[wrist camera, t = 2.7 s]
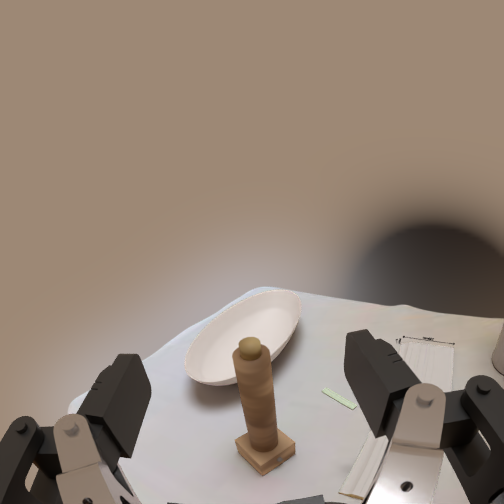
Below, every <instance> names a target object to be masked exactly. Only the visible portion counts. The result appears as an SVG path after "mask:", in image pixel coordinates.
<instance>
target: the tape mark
mask: <svg viewBox="0 0 504 504" xmlns="http://www.w3.org/2000/svg"><path fill="white" fill-rule="evenodd" d="M322 392H323V393H325V394H326V395H328V396H330V397H331V398H333V399H335V400H336V401H338V402H340V403H341V404H343V405H345V406H347V407H348V408H350V409H352V410H353V409H354V408H355V407H356V406H357V405H356V404H354V403H352V402H350V401H349V400H347V399H345V398H343V397H342V396H340V395H338V394H336V393H335V392H333V391H331V390H330V389H328V388H325V389H324V390H323V391H322Z"/></svg>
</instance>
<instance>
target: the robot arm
mask: <svg viewBox="0 0 504 504" xmlns="http://www.w3.org/2000/svg"><path fill="white" fill-rule="evenodd" d="M492 362H493V364H494V366H495V368H496V369H497V370H498V371H499V372H500V373H502V374H503V375H504V324H503V327H502V330H501V333H500V336H499V339H498V342H497V344H496V347H495V350H494V352H493V355H492ZM344 372H345V376H346V379H347V381H348V383H349V385H350V387H351V389H352V391H353V393H354V395H355V397H356V399H357V401H358V403H359V405H360V407H361V410H362V412H363V414H364V416H365V418H366V420H367V422H368V424H369V426H370V428H371V430H372V432H373V434H374V436H375V439H376V438H379V437H382V436H385V435H386V437H387V439H388V443H387V446H386V448H385V451H384V454H383V456H382V459H381V461H380V464H379V466H378V469H377V471H376V473H375V476H374V478H373V480H372V482H371V485H370V487H369V489H368V491H367V493H366V495H365V496H364V498H363V500H362V502H361V504H432V500H433V497H434V493H435V490H436V486H437V482H438V478H439V474H440V470H441V465H442V460H443V454H444V452H445V454H446V456H447V458H448V460H449V462H450V463H451V465H452V467H453V469H454V471H455V473H456V475H457V477H458V479H459V481H460V483H461V485H462V487H463V489H464V491H465V493H466V495H467V498H468V500H469V502H470V504H504V390H503V389H502V387H501V386H500V385H499V384H498V383H497V382H496V381H495V380H494V379H492V378H491V377H488V376H484V375H478V376H475V377H472V378H471V379H470V380H469V381H468V382H467V384H466V386H465V389H464V390H458V391H452V392H443V390H442V389H440V388H439V387H438V386H436V385H433V384H429V383H422V382H421V381H420V380H419V379H418V377H417V376H416V375H415V374H414V372H413V371H412V370H411V369H410V367H409V366H408V365H407V364H406V362H405V361H403V359H402V357H401V356H400V355H399V354H397V351H396V350H395V349H394V348H393V347H392V345H391V344H389V343H387V342H385V341H384V340H382V339H377V340H375V339H374V337H373V336H372V335H371V334H370V332H369V331H368V330H367V329H364V330H360V331H355V332H350V333H347V336H346V346H345V358H344ZM150 398H151V385H150V382H149V379H148V377H147V374H146V372H145V369H144V366H143V364H142V361H141V359H140V357H139V355H138V354H119V355H118V356H117V358H116V359H115V361H114V363H113V364H112V366H108V367H107V368H106V369H105V370H103V371H102V372H101V373H100V374H99V376H98V378H97V379H96V381H95V383H94V384H93V386H92V388H91V390H90V391H89V393H88V394H87V396H86V398H85V399H84V401H83V403H82V405H81V406H80V408H79V410H78V412H77V413H76V414H69V415H66V416H63V417H62V418H60V419H59V420H58V421H57V422H56V424H55V426H53V427H39V425H38V424H37V423H36V421H35V420H34V419H33V418H32V417H29V416H22V417H20V418H17V419H16V420H15V421H13V423H12V424H11V425H10V427H9V429H8V430H7V432H6V433H5V435H4V437H3V438H2V440H1V442H0V504H142V503H141V502H140V501H139V499H138V497H137V496H136V494H135V492H134V491H133V489H132V487H131V485H130V483H129V482H128V480H127V478H126V476H125V474H124V472H123V470H122V468H121V466H120V465H119V464H118V460H119V457H124V458H131V457H132V454H133V450H134V447H135V444H136V441H137V438H138V434H139V431H140V428H141V425H142V422H143V419H144V416H145V413H146V410H147V407H148V404H149V401H150ZM479 430H480V432H481V433H482V435H483V436H484V438H485V439H486V441H487V442H488V444H489V445H490V449H491V451H490V449H489V448H488V446H487V445H486V443H485V442H484V440H483V439H482V437H481V436H480V434H479V433H478V431H479ZM32 463H34V464H35V466H37V468H38V469H39V470H38V472H37V475H36V477H35V480H34V482H33V485H32V487H31V490H30V492H28V491H27V489H26V487H25V479H26V476H27V474H28V471H29V469H30V467H31V465H32ZM167 504H177V503H168V502H167ZM277 504H345V503H337V502H324V498H323V495H318V496H313V497H308V498H302V499H296V500H289V501H283V502H280V503H277Z"/></svg>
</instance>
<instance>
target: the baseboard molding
mask: <svg viewBox="0 0 504 504" xmlns="http://www.w3.org/2000/svg"><path fill="white" fill-rule="evenodd" d="M404 337H405V336H403V338H404ZM407 338H409V337H407ZM423 338H426V337H423ZM413 339H416V338H413ZM433 339H434V338H433ZM396 340H397V339H396ZM420 340H422V339H420ZM429 340H432V338H430V339H429V338H428V339H427V341H429ZM399 342H401V339H399ZM434 342H437V341H434ZM396 343H397V342H396ZM441 343H444V342H441ZM399 344H400V343H399ZM449 344H452V343H449ZM454 344H455V343H453V345H454ZM399 355H400V356H401V357H402V359H403V361H405V362H406V364H407V365H408V366H409V367H410V369H411V370H412V371H413V372H414V374H415V375H416V376H417V377H418V379H419V380H420V381H421V382H422V383H429V384H433V385H436V386H438V387H439V388H440V389H442V390H443V392H451V389H452V376H453V356H454V347H447V346H439V345H430V344H422V343H416V342H412V341H409V342H408V343H401V347H400V350H399ZM387 443H388V439H387V437H386V435H385V436H382V437H379V438H376V439H375V436H374V434H373V432H372V430H370V433H369V435H368V437H367V439H366V441H365V443H364V446H363V448H362V450H361V452H360V454H359V456H358V458H357V460H356V462H355V464H354V466H353V467H352V469H351V471H350V473H349V475H348V477H347V478H346V480H345V482H344V484H343V485H342V487H341V489H340V491H339V492H338V493H340V494H343V495H347V496H350V497H354V498H358V499H362V500H363V498H364V496H365V495H366V493H367V491H368V489H369V487H370V485H371V482H372V480H373V478H374V476H375V473H376V471H377V469H378V466H379V464H380V461H381V459H382V456H383V454H384V451H385V448H386V446H387Z"/></svg>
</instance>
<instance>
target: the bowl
mask: <svg viewBox="0 0 504 504" xmlns="http://www.w3.org/2000/svg"><path fill="white" fill-rule="evenodd" d="M300 315H301V301H300V299H299V297H298V296H297V295H296V294H295V293H293V292H291V291H288V290H270V291H266V292H262V293H259V294H256V295H253V296H251V297H248V298H246V299H244V300H242V301H240V302H238V303H237V304H235V305H233V306H231V307H230V308H228V309H227V310H225V311H224V312H222V313H221V314H220V315H218V316H217V317H216V318H215V319H213V320H212V321H211V322H210V323H209V324H208V325H207V326H206V327H205V328H204V329H203V330H202V331H201V332H200V333H199V334H198V335H197V337H196V338H195V339H194V341H193V342H192V344H191V345H190V347H189V349H188V351H187V354H186V357H185V370H186V373H187V374H188V375H189V377H191V378H192V379H193V380H195V381H197V382H200V383H203V384H207V385H214V386H223V385H230V384H234V383H237V379H236V374H235V369H234V364H233V358H232V354H233V352H234V351H235V350H236V349H237V348H238V347H239V341H240V340H242V339H243V338H246V337H256V338H258V339H259V340H260V343H261V344H262V345H265V346H266V347H267V348H268V349H269V350H270V357H271V362H272V361H273V360H274V359H275V358H276V357H277V356H278V355H279V353H280V352H281V351H282V350H283V348H284V347H285V346H286V344H287V343H288V341H289V339H290V338H291V336H292V334H293V332H294V330H295V328H296V326H297V324H298V321H299V318H300Z"/></svg>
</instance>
